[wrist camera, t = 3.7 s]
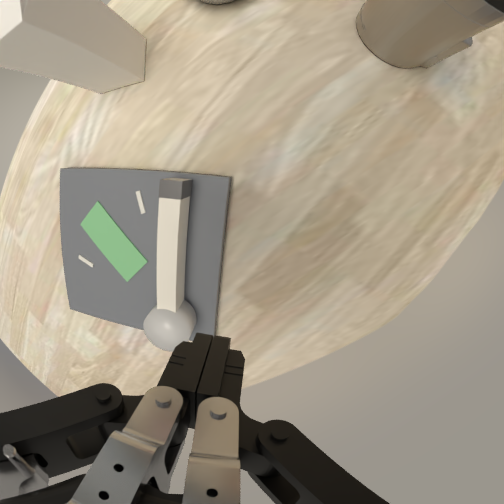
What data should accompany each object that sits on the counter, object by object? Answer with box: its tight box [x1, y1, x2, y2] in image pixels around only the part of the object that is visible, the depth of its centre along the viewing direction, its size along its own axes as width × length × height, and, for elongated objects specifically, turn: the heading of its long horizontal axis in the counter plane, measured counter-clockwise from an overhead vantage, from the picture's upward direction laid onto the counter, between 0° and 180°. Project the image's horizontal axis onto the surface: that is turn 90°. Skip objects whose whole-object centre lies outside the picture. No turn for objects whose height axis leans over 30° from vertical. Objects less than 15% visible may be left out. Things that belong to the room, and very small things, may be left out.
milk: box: [0, 0, 146, 94], centre depth 13 cm, size 6×6×22 cm
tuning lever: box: [143, 178, 197, 351], centre depth 26 cm, size 18×5×4 cm, turn 173°
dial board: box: [60, 168, 231, 341], centre depth 29 cm, size 21×19×2 cm
